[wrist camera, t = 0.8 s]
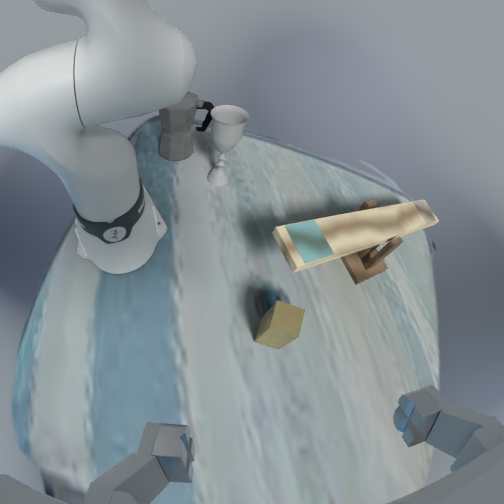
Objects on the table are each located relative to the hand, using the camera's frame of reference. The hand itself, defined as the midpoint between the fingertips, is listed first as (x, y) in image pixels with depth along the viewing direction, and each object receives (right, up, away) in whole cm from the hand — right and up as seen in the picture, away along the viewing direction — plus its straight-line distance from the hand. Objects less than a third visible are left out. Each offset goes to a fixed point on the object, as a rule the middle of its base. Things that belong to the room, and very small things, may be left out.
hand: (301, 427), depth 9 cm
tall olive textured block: (+1, -8, +39) cm, 40 cm away
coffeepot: (-20, +32, +57) cm, 68 cm away
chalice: (-10, +23, +54) cm, 60 cm away
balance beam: (+24, +12, +44) cm, 51 cm away
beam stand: (+22, +7, +52) cm, 57 cm away
